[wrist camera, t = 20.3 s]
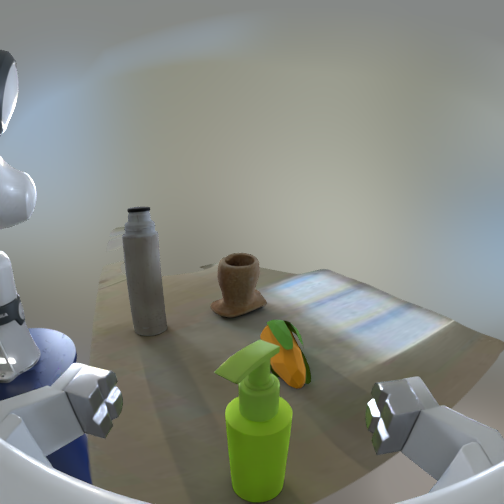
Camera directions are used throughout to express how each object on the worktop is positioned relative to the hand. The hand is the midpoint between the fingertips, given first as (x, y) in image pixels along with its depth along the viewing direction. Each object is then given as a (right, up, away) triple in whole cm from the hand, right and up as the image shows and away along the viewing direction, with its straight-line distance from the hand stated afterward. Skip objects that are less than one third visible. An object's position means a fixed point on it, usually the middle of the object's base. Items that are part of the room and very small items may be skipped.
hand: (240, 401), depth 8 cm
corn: (+6, -17, +42) cm, 46 cm away
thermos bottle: (-23, -14, +57) cm, 63 cm away
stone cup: (-2, -11, +68) cm, 69 cm away
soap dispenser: (+1, -23, +18) cm, 29 cm away
